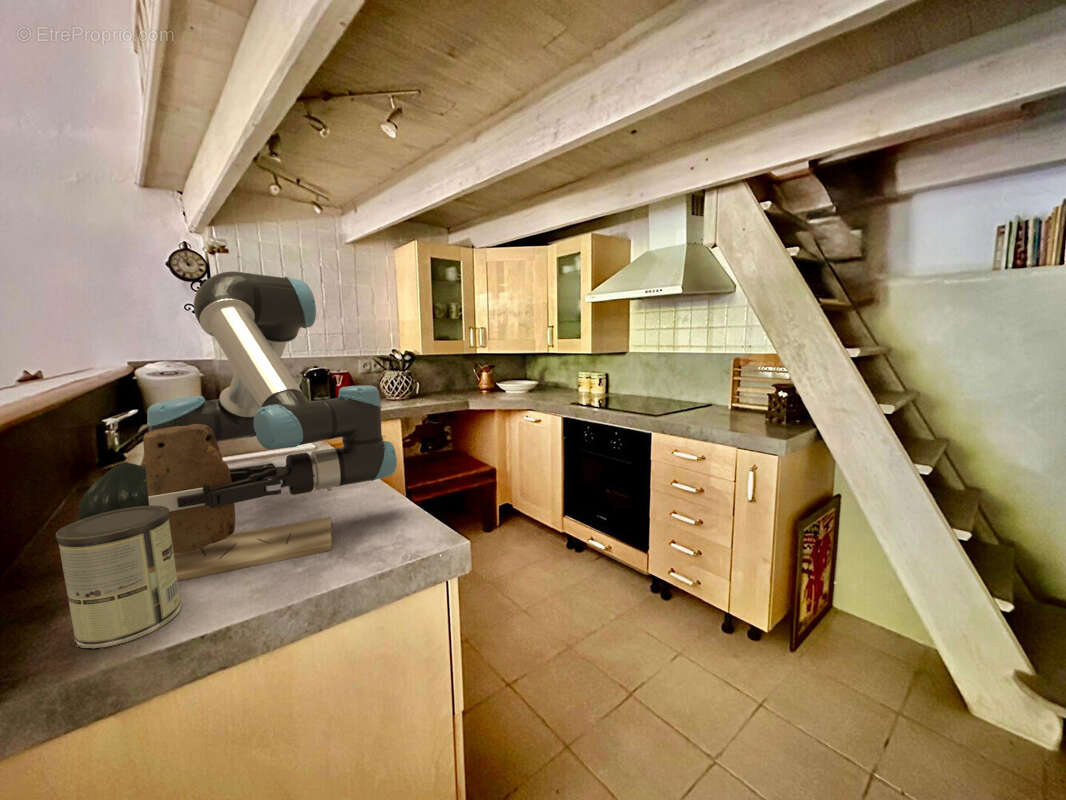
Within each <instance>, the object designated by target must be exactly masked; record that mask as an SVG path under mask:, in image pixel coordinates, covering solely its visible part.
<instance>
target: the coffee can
mask: <svg viewBox="0 0 1066 800" xmlns="http://www.w3.org/2000/svg"><path fill="white" fill-rule="evenodd" d="M55 539H56V541H57V542H58V548H59V552H60V554H59V555H60V559H61V564H62V572H63V577H64V582H65V583H64V584H65V588H66V593H67V600H68V604H69V605H68V606H69V610H70V611H69V612H70V616H71V623H72V629H73V635H74V642H75V641H76V643H77V644H78V645H82V646H85V647H98V646H99V647H100V646H101V647H102V646H111V645H116V644H120V643H123V644H126V643H129V642H131V641H130V640H132V641H135V640H137V638H138V639H140V638H142V637H144V636H147V635H149V634H151V633H154V632H155V631H157V630H159V629H160V628H162V627H164V626H166V625H167V624H168V623H169V622H171V621H172V620H173V619H174V618H175V617H177V616H178V614H179V613H180V611H181V610H182V603H181V599H180V591H179V585H178V581H177V575H176V568H175V561H174V554H173V546H172V539H171V531H170V524H169V509H168V508H167V507H164V506H154V505H152V506H138V507H130V508H124V509H119V510H113V511H109V512H105V513H101V514H97V515H93V516H90V517H87V518H84V519H81V520H79V519H78V520H75V521H74V522H71V523H68V524H66V525H65V526H62V527H61V528H60V529H58V530H57V531H56V533H55ZM134 639H135V640H134ZM128 641H129V642H128ZM125 642H126V643H125ZM120 645H121V644H120ZM116 646H117V645H116Z"/></svg>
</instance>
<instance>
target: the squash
mask: <svg viewBox="0 0 1066 800" xmlns="http://www.w3.org/2000/svg"><path fill="white" fill-rule="evenodd" d="M138 506H149V499H148V489H147V476H146V466H143V465H140V464H137V463H132V462H127V461H123V462H121V463H120V464H117V465H115V466H114V467H112V468H111V469H110V470H109V471H107V472H106V473H104V475H102V476H101V477H100V478H99V479H98V480H96V481H95V482H94V483H92V485H91V486H90V487H89V488H88V490H87V491H86V492H85V494H83V497H82V499H81V502H80V504H79V508H78V513H77V519H78V520H81V519H84V518H87V517H90V516H93V515H97V514H101V513H105V512H109V511H113V510H119V509H124V508H130V507H138Z"/></svg>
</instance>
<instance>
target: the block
mask: <svg viewBox="0 0 1066 800" xmlns="http://www.w3.org/2000/svg"><path fill="white" fill-rule="evenodd" d="M142 445H143V446H142V447H143V456H144V457H143V458H144V464H145V465H144V467H146V476H147V489H148V497H149V496H154V495H160V494H166V493H173V492H179V491H185V490H191V489H197V488H203V485H208V486H209V488H213V487H217V486H221V485H225V484H228V483H232V480H231V474H230V470H229V469H230V467H229V465H228V464H227V463H226V462H225V460H224V459H223V455H222V453H221V452H220V447H219V443H218V442H217V441H216V438H215V435H214V433H213V431H212V429H211V428H209V426H207V425H201V424H192V425H188V426H177V427H169V428H164V429H157V430H153V431H150V432H149V431H148V432H146V433H145V434H144V435H143V444H142ZM169 524H170V531H171V539H172V546H173V553H185V552H189V551H193V550H196V549H200V548H203V547H206V546H207V545H209V544H213V543H216V542H219V541H221V540H224V539H226V538H227V537H228V536H230V535H231V534H234V533H235V529H236V507H235V503H233V504H229V505H224V506H220V507H216V508H210V506H206V505H202V506H197V507H191V508H186V509H180V510H175V511H169Z"/></svg>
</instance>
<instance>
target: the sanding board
mask: <svg viewBox="0 0 1066 800" xmlns="http://www.w3.org/2000/svg"><path fill="white" fill-rule="evenodd" d="M331 520H332V519H331V517H329V516H328V517H322V518H317V519H312V520H306V521H299V522H293V523H288V524H283V525H282V524H281V525H277V526H271V527H270V526H269V527H265V528H260V529H251V530H247V531H242V532H234V533H233V534H231V535H230V536H228V537H227V538H226V539H224V540H221V541H219V542H216V543H213V544H209V545H207V546H206V547H203V548H200V549H196V550H193V551H189V552H185V553H173V554H174V561H175V568H176V575H177V582H180V581H184V580H190V579H194V578H199V577H200V578H201V577H206V576H209V575H210V576H211V575H214V574H219V573H220V574H221V573H225V572H229V571H235V570H241V569H245V568H249V567H255V566H260V565H265V564H270V563H274V562H280V561H285V560H289V559H295V558H299V557H305V556H309V555H314V554H320V553H325V552H328V551H332V550H333V549H332V548H333V545H332V544H333V542H332V541H333V540H332V521H331Z"/></svg>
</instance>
